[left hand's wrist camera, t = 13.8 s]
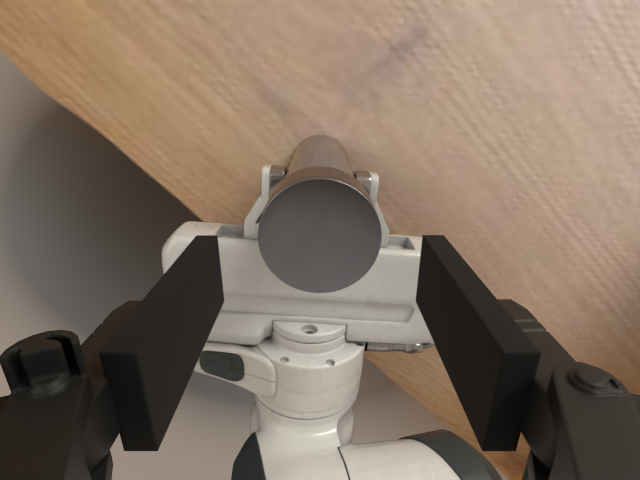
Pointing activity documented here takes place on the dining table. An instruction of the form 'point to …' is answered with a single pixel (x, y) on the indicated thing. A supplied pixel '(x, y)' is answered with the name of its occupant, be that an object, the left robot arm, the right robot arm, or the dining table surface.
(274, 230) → the lid
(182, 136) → the dining table surface
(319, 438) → the right robot arm
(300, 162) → the grey cylinder
